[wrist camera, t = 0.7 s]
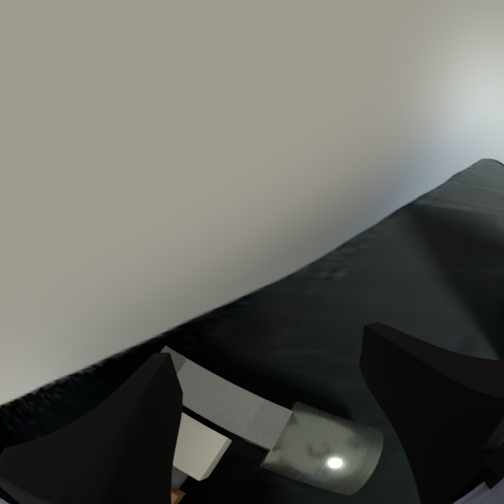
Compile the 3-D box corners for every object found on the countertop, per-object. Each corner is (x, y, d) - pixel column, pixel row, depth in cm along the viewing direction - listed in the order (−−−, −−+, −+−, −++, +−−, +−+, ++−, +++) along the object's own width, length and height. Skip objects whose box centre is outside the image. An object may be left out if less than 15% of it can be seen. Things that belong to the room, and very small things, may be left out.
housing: (336, 491, 15) (360, 499, 11) (157, 407, 20) (131, 391, 16) (362, 433, 18) (392, 424, 14) (191, 358, 24) (176, 331, 19)
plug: (182, 513, 13) (168, 522, 11) (142, 487, 15) (122, 490, 12) (231, 440, 19) (227, 437, 16) (190, 417, 20) (179, 410, 17)
